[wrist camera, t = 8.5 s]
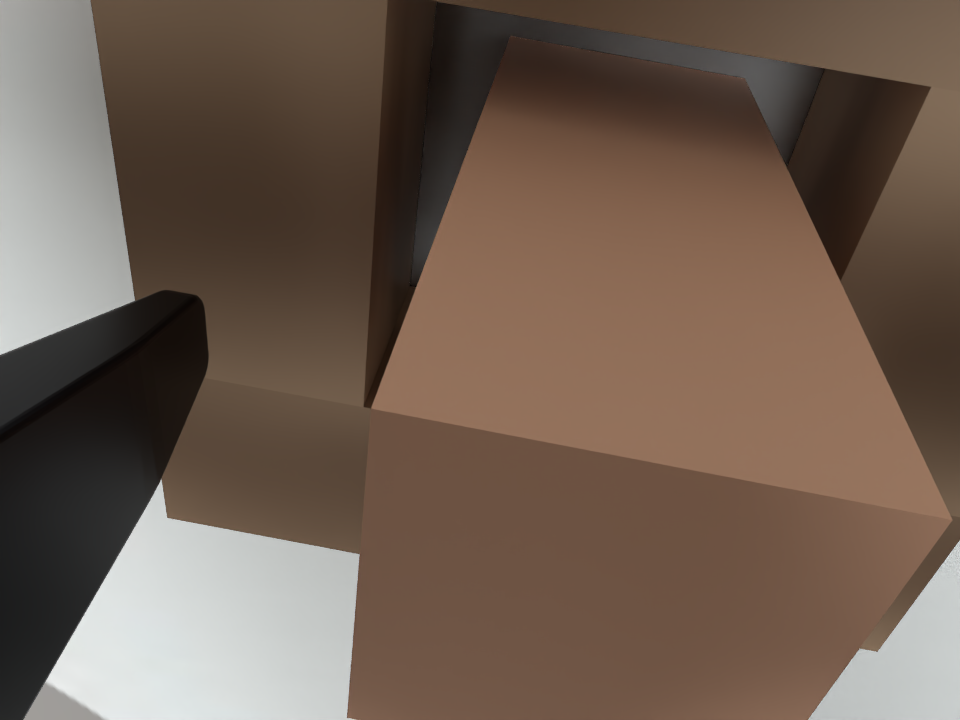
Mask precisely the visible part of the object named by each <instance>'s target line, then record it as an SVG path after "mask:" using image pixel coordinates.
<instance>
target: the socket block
mask: <svg viewBox="0 0 960 720" xmlns="http://www.w3.org/2000/svg"><path fill="white" fill-rule="evenodd" d="M436 2H442V3H448V4H454V5H460V6H465V7H471V8H477V9H483V10H489V11H494V12H500V13H506V14H512V15H518V16H523V17H529V18H535V19H541V20H547V21H552V22H558V23H564V24H570V25H576V26H581V27H587V28H593V29H599V30H605V31H610V32H616V33H622V34H628V35H634V36H639V37H645V38H651V39H657V40H663V41H668V42H674V43H680V44H686V45H692V46H697V47H703V48H709V49H715V50H721V51H726V52H732V53H738V54H744V55H750V56H755V57H761V58H767V59H773V60H779V61H784V62H790V63H796V64H802V65H808V66H813V67H819V68H825V70H824V73H823V75H822V78H821V80H820V83H819V86H818V88H817V91H816V93H815V96H814V99H813V101H812V104H811V106H810V109H809V112H808V114H807V117H806V120H805V122H804V125H803V127H802V130H801V133H800V135H799V138H798V140H797V143H796V146H795V148H794V151H793V153H792V156H791V159H790V161H789V164H788V167H787V169H788V171H789V174H790V176H791V178H792V180H793V182H794V184H795V186H796V188H797V191H798V193H799V195H800V197H801V199H802V201H803V203H804V205H805V208H806V210H807V212H808V214H809V216H810V218H811V220H812V222H813V225H814V227H815V229H816V231H817V233H818V235H819V237H820V239H821V242H822V244H823V246H824V248H825V250H826V252H827V254H828V256H829V259H830V261H831V263H832V265H833V267H834V269H835V271H836V273H837V276H838V278H839V280H840V282H841V284H842V286H843V288H844V290H845V293H846V295H847V297H848V299H849V301H850V303H851V305H852V307H853V309H854V312H855V314H856V316H857V318H858V320H859V322H860V324H861V326H862V329H863V331H864V333H865V335H866V337H867V339H868V341H869V343H870V346H871V348H872V350H873V352H874V354H875V356H876V358H877V360H878V363H879V365H880V367H881V369H882V371H883V373H884V375H885V377H886V380H887V382H888V384H889V386H890V388H891V390H892V392H893V394H894V397H895V399H896V401H897V403H898V405H899V407H900V409H901V411H902V414H903V416H904V418H905V420H906V422H907V424H908V426H909V428H910V431H911V433H912V435H913V437H914V439H915V441H916V443H917V445H918V448H919V450H920V452H921V454H922V456H923V458H924V460H925V462H926V465H927V467H928V469H929V471H930V473H931V475H932V477H933V479H934V482H935V484H936V486H937V488H938V490H939V492H940V494H941V496H942V499H943V501H944V503H945V505H946V507H947V509H948V511H949V513H950V516H951V518H952V522H951V523H950V524H949V526H948V527H947V529H946V530H945V531H944V533H943V534H942V535H941V537H940V538H939V540H938V541H937V542H936V544H935V545H934V546H933V548H932V549H931V551H930V552H929V553H928V555H927V556H926V557H925V559H924V560H923V562H922V563H921V564H920V566H919V567H918V568H917V570H916V571H915V573H914V574H913V575H912V577H911V578H910V579H909V581H908V582H907V584H906V585H905V586H904V588H903V589H902V591H901V592H900V593H899V595H898V596H897V597H896V599H895V600H894V602H893V603H892V604H891V606H890V607H889V608H888V610H887V611H886V613H885V614H884V615H883V617H882V618H881V619H880V621H879V622H878V624H877V625H876V626H875V628H874V629H873V630H872V632H871V633H870V635H869V636H868V637H867V639H866V640H865V641H864V643H863V644H862V646H861V647H860V649H866V650H871V651H876V652H878V650H879V649H880V647H881V646H882V645H883V643H884V642H885V641H886V639H887V638H888V637H889V635H890V634H891V633H892V631H893V630H894V628H895V627H896V626H897V624H898V623H899V622H900V620H901V619H902V618H903V616H904V615H905V614H906V612H907V611H908V609H909V608H910V607H911V605H912V604H913V603H914V601H915V600H916V599H917V597H918V596H919V595H920V593H921V592H922V590H923V589H924V588H925V586H926V585H927V584H928V582H929V581H930V580H931V578H932V577H933V576H934V574H935V573H936V571H937V570H938V569H939V567H940V566H941V565H942V563H943V562H944V561H945V559H946V558H947V557H948V555H949V554H950V552H951V551H952V550H953V548H954V547H955V546H956V544H957V543H958V542H959V540H960V0H91V6H92V12H93V19H94V26H95V33H96V39H97V46H98V53H99V60H100V66H101V73H102V80H103V87H104V93H105V100H106V107H107V114H108V120H109V127H110V134H111V141H112V147H113V154H114V161H115V168H116V174H117V181H118V188H119V195H120V201H121V208H122V215H123V222H124V228H125V235H126V242H127V249H128V255H129V262H130V269H131V275H132V282H133V289H134V296H135V301H136V300H139V299H141V298H144V297H146V296H149V295H151V294H154V293H156V292H159V291H162V290H172V291H177V292H183V293H188V294H194V295H197V296H198V297H199V298H200V299H201V300H202V301H203V304H204V307H205V316H206V328H207V339H208V351H209V362H208V368H207V372H206V375H205V378H204V380H203V383H202V385H201V387H200V390H199V392H198V394H197V397H196V399H195V401H194V404H193V406H192V408H191V411H190V413H189V415H188V418H187V420H186V423H185V425H184V427H183V430H182V432H181V434H180V437H179V439H178V441H177V444H176V446H175V448H174V451H173V453H172V456H171V458H170V460H169V463H168V465H167V467H166V469H165V472H164V474H163V476H162V485H163V491H164V498H165V505H166V512H167V518H171V519H177V520H182V521H187V522H193V523H198V524H203V525H208V526H214V527H219V528H224V529H230V530H235V531H240V532H246V533H251V534H256V535H261V536H267V537H272V538H277V539H283V540H288V541H293V542H299V543H304V544H309V545H314V546H320V547H325V548H330V549H336V550H341V551H346V552H352V553H357V554H360V544H361V531H362V518H363V506H364V493H365V480H366V467H367V454H368V441H369V428H370V415H371V407H372V405H373V402H374V399H375V397H376V394H377V391H378V388H379V386H380V383H381V380H382V378H383V375H384V372H385V370H386V367H387V364H388V362H389V359H390V356H391V354H392V351H393V348H394V346H395V343H396V340H397V338H398V335H399V332H400V330H401V327H402V324H403V322H404V319H405V316H406V314H407V311H408V308H409V306H410V303H411V300H412V298H413V295H414V292H415V290H416V287H412V286H410V280H411V270H412V259H413V248H414V237H415V227H416V216H417V205H418V195H419V184H420V173H421V163H422V152H423V141H424V131H425V120H426V109H427V98H428V88H429V77H430V66H431V56H432V45H433V34H434V24H435V13H436Z"/></svg>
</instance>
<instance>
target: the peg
mask: <svg viewBox="0 0 960 720" xmlns="http://www.w3.org/2000/svg"><path fill="white" fill-rule="evenodd" d="M951 522H952V518H951V516H950V513H949V511H948V509H947V507H946V505H945V503H944V501H943V499H942V496H941V494H940V492H939V490H938V488H937V486H936V484H935V482H934V479H933V477H932V475H931V473H930V471H929V469H928V467H927V465H926V462H925V460H924V458H923V456H922V454H921V452H920V450H919V448H918V445H917V443H916V441H915V439H914V437H913V435H912V433H911V431H910V428H909V426H908V424H907V422H906V420H905V418H904V416H903V414H902V411H901V409H900V407H899V405H898V403H897V401H896V399H895V397H894V394H893V392H892V390H891V388H890V386H889V384H888V382H887V380H886V377H885V375H884V373H883V371H882V369H881V367H880V365H879V363H878V360H877V358H876V356H875V354H874V352H873V350H872V348H871V346H870V343H869V341H868V339H867V337H866V335H865V333H864V331H863V329H862V326H861V324H860V322H859V320H858V318H857V316H856V314H855V312H854V309H853V307H852V305H851V303H850V301H849V299H848V297H847V295H846V293H845V290H844V288H843V286H842V284H841V282H840V280H839V278H838V276H837V273H836V271H835V269H834V267H833V265H832V263H831V261H830V259H829V256H828V254H827V252H826V250H825V248H824V246H823V244H822V242H821V239H820V237H819V235H818V233H817V231H816V229H815V227H814V225H813V222H812V220H811V218H810V216H809V214H808V212H807V210H806V208H805V205H804V203H803V201H802V199H801V197H800V195H799V193H798V191H797V188H796V186H795V184H794V182H793V180H792V178H791V176H790V174H789V171H788V169H787V167H786V165H785V163H784V161H783V159H782V157H781V154H780V152H779V150H778V148H777V146H776V144H775V142H774V140H773V137H772V135H771V133H770V131H769V129H768V127H767V125H766V123H765V120H764V118H763V116H762V114H761V112H760V110H759V108H758V106H757V103H756V101H755V99H754V97H753V95H752V93H751V91H750V89H749V86H748V84H747V82H746V80H745V78H740V77H734V76H729V75H723V74H718V73H712V72H707V71H701V70H696V69H690V68H685V67H679V66H674V65H668V64H663V63H657V62H652V61H646V60H641V59H635V58H630V57H624V56H619V55H613V54H608V53H602V52H597V51H591V50H586V49H580V48H575V47H569V46H564V45H558V44H553V43H547V42H542V41H537V40H531V39H526V38H520V37H515V36H510V38H509V41H508V43H507V46H506V49H505V51H504V54H503V57H502V59H501V62H500V65H499V68H498V70H497V73H496V76H495V78H494V81H493V84H492V86H491V89H490V92H489V94H488V97H487V100H486V102H485V105H484V108H483V110H482V113H481V116H480V118H479V121H478V124H477V126H476V129H475V132H474V134H473V137H472V140H471V142H470V145H469V148H468V150H467V153H466V156H465V158H464V161H463V164H462V166H461V169H460V172H459V175H458V177H457V180H456V183H455V185H454V188H453V191H452V193H451V196H450V199H449V201H448V204H447V207H446V209H445V212H444V215H443V217H442V220H441V223H440V225H439V228H438V231H437V233H436V236H435V239H434V241H433V244H432V247H431V249H430V252H429V255H428V257H427V260H426V263H425V265H424V268H423V271H422V273H421V276H420V279H419V281H418V284H417V287H416V290H415V292H414V295H413V298H412V300H411V303H410V306H409V308H408V311H407V314H406V316H405V319H404V322H403V324H402V327H401V330H400V332H399V335H398V338H397V340H396V343H395V346H394V348H393V351H392V354H391V356H390V359H389V362H388V364H387V367H386V370H385V372H384V375H383V378H382V380H381V383H380V386H379V388H378V391H377V394H376V397H375V399H374V402H373V405H372V407H371V415H370V428H369V441H368V454H367V467H366V480H365V493H364V506H363V518H362V531H361V544H360V557H359V570H358V583H357V596H356V609H355V622H354V635H353V648H352V661H351V674H350V687H349V700H348V713H347V718H352V719H357V720H808V719H809V717H810V716H811V714H812V713H813V712H814V710H815V709H816V708H817V706H818V705H819V703H820V702H821V701H822V699H823V698H824V697H825V695H826V694H827V692H828V691H829V690H830V688H831V687H832V686H833V684H834V683H835V681H836V680H837V679H838V677H839V676H840V675H841V673H842V672H843V670H844V669H845V668H846V666H847V665H848V664H849V662H850V661H851V659H852V658H853V657H854V655H855V654H856V652H857V651H858V650H859V648H860V647H861V646H862V644H863V643H864V641H865V640H866V639H867V637H868V636H869V635H870V633H871V632H872V630H873V629H874V628H875V626H876V625H877V624H878V622H879V621H880V619H881V618H882V617H883V615H884V614H885V613H886V611H887V610H888V608H889V607H890V606H891V604H892V603H893V602H894V600H895V599H896V597H897V596H898V595H899V593H900V592H901V591H902V589H903V588H904V586H905V585H906V584H907V582H908V581H909V579H910V578H911V577H912V575H913V574H914V573H915V571H916V570H917V568H918V567H919V566H920V564H921V563H922V562H923V560H924V559H925V557H926V556H927V555H928V553H929V552H930V551H931V549H932V548H933V546H934V545H935V544H936V542H937V541H938V540H939V538H940V537H941V535H942V534H943V533H944V531H945V530H946V529H947V527H948V526H949V524H950V523H951Z"/></svg>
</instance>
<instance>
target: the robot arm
mask: <svg viewBox="0 0 960 720" xmlns="http://www.w3.org/2000/svg"><path fill="white" fill-rule="evenodd" d="M208 362H209V351H208V339H207V328H206V316H205V307H204V304H203V301H202V300H201V299H200V298H199V297H198V296H197V295H194V294H188V293H183V292H177V291H172V290H162V291H159V292H156V293H154V294H151V295H149V296H146V297H144V298H141V299H139V300H136V301H134V302H131V303H129V304H126V305H124V306H121V307H119V308H116V309H114V310H111V311H109V312H106V313H104V314H101V315H99V316H96V317H94V318H91V319H89V320H87V321H84V322H82V323H79V324H77V325H74V326H72V327H69V328H67V329H64V330H62V331H59V332H57V333H54V334H52V335H49V336H47V337H44V338H42V339H39V340H37V341H34V342H32V343H29V344H27V345H24V346H22V347H19V348H17V349H14V350H12V351H9V352H7V353H4V354H2V355H0V720H23V719H24V718H25V716H26V714H27V712H28V711H29V709H30V707H31V706H32V704H33V702H34V700H35V699H36V697H37V695H38V694H39V692H40V690H41V688H42V687H43V685H44V683H45V681H46V680H47V678H48V676H49V674H50V673H51V671H52V669H53V668H54V666H55V664H56V662H57V661H58V659H59V657H60V655H61V654H62V652H63V650H64V649H65V647H66V645H67V643H68V642H69V640H70V638H71V636H72V635H73V633H74V631H75V629H76V628H77V626H78V624H79V623H80V621H81V619H82V617H83V616H84V614H85V612H86V610H87V609H88V607H89V605H90V604H91V602H92V600H93V598H94V597H95V595H96V593H97V591H98V590H99V588H100V586H101V584H102V583H103V581H104V579H105V578H106V576H107V574H108V572H109V571H110V569H111V567H112V565H113V564H114V562H115V560H116V559H117V557H118V555H119V553H120V552H121V550H122V548H123V546H124V545H125V543H126V541H127V539H128V538H129V536H130V534H131V533H132V531H133V529H134V527H135V526H136V524H137V522H138V520H139V519H140V517H141V515H142V514H143V512H144V510H145V508H146V507H147V505H148V503H149V501H150V499H151V498H152V496H153V494H154V492H155V490H156V488H157V487H158V485H159V483H160V480H161V478H162V476H163V474H164V472H165V469H166V467H167V465H168V463H169V460H170V458H171V456H172V453H173V451H174V448H175V446H176V444H177V441H178V439H179V437H180V434H181V432H182V430H183V427H184V425H185V423H186V420H187V418H188V415H189V413H190V411H191V408H192V406H193V404H194V401H195V399H196V397H197V394H198V392H199V390H200V387H201V385H202V383H203V380H204V378H205V375H206V372H207V368H208Z"/></svg>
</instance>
